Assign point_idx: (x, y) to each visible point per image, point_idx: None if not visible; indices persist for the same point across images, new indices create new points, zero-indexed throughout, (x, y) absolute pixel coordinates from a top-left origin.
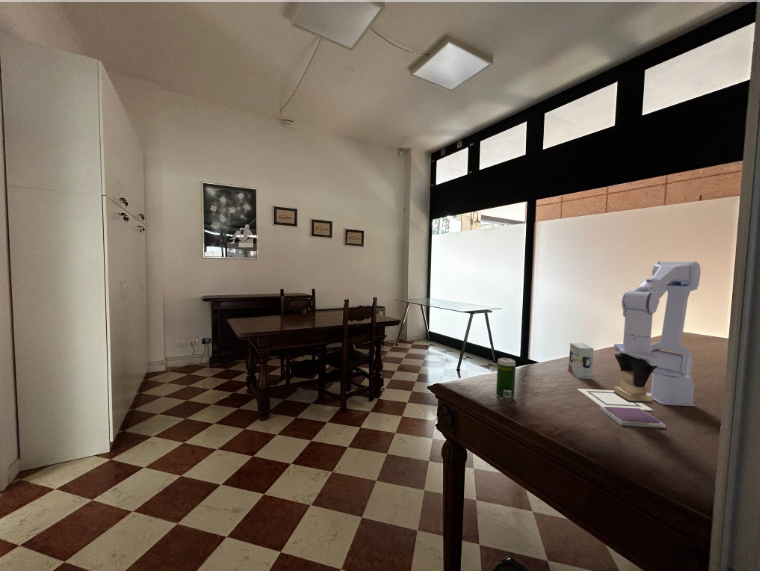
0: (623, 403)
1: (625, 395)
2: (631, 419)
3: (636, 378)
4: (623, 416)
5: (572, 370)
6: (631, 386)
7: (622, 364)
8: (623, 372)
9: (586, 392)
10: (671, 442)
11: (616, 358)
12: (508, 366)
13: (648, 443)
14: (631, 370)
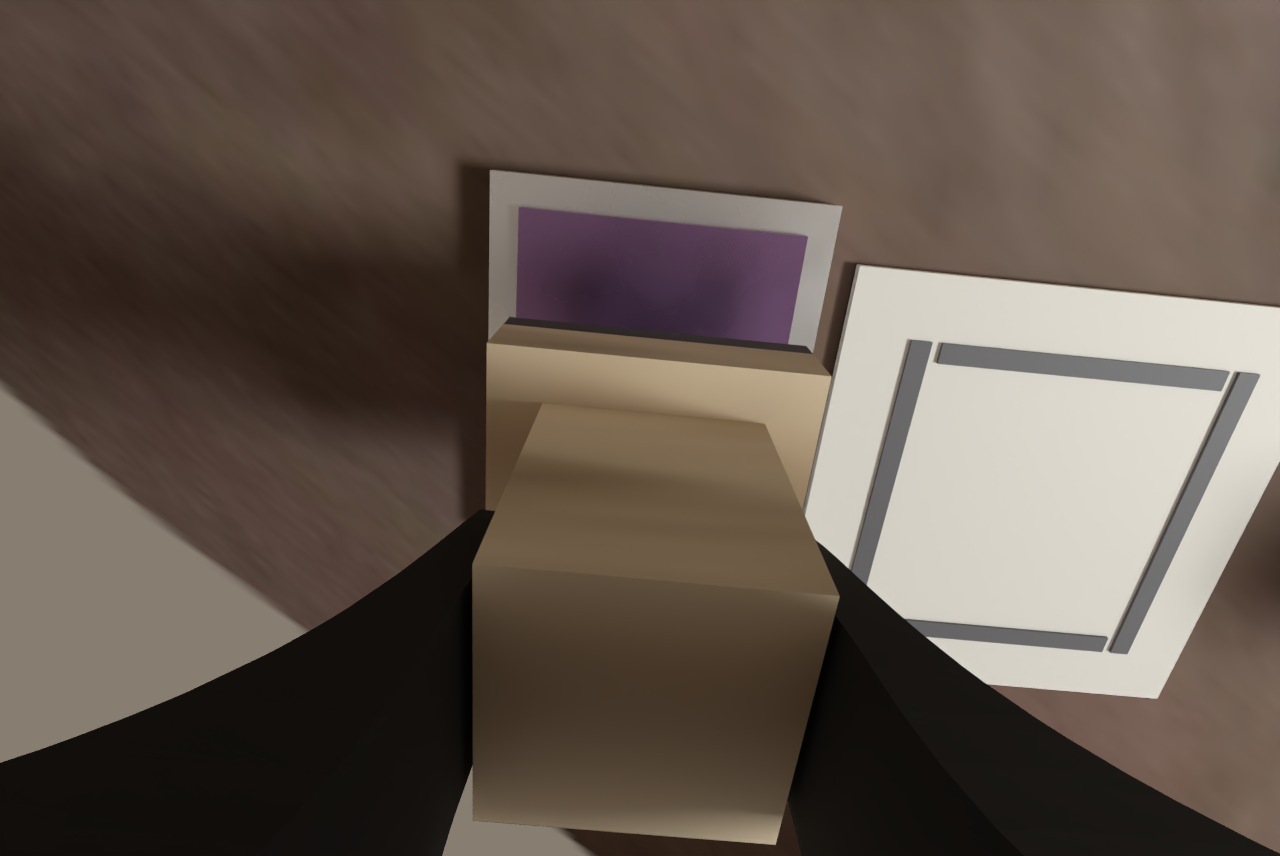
0: (914, 531)
1: (570, 341)
2: (524, 303)
3: (398, 577)
4: (583, 271)
5: None
6: (525, 458)
7: (913, 748)
8: (767, 578)
9: (1227, 350)
10: (261, 388)
11: (1260, 853)
12: None
13: (192, 172)
14: (805, 786)
